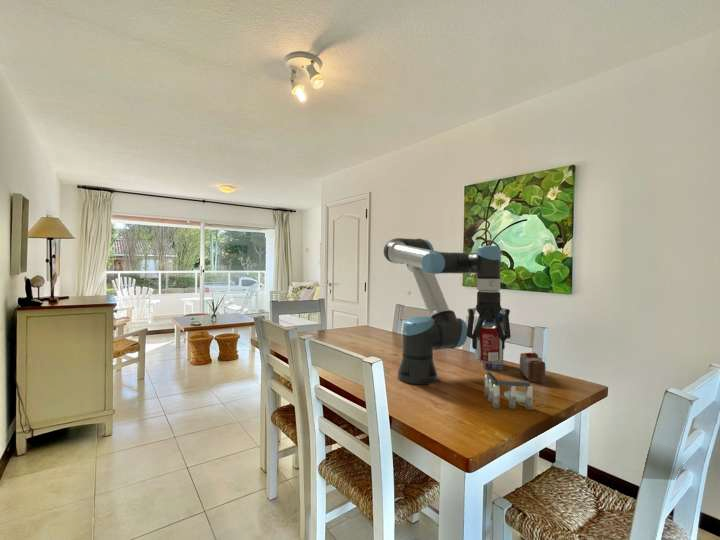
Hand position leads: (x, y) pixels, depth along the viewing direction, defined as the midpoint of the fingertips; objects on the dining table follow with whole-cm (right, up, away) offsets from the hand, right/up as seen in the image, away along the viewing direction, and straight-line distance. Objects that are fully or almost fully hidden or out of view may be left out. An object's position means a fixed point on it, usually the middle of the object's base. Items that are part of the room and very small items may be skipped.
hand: (488, 358), depth 122 cm
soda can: (0, -1, 0) cm, 1 cm away
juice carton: (+14, -12, +35) cm, 39 cm away
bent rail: (+4, -13, -6) cm, 14 cm away
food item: (+25, -13, +20) cm, 34 cm away
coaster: (+9, -13, -2) cm, 16 cm away
